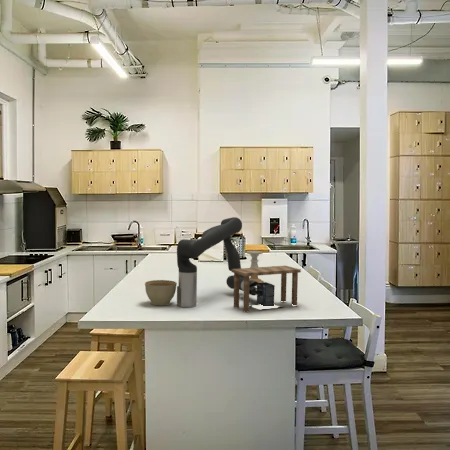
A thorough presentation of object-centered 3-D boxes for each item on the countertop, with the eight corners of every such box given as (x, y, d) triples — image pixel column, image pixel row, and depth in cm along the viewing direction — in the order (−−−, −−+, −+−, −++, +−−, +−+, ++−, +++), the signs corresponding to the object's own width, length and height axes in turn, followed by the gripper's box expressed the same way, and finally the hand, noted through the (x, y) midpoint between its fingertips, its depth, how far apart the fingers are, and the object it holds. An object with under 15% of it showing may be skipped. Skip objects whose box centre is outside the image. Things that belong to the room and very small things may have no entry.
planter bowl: (145, 307, 249) (145, 286, 248) (144, 300, 265) (144, 280, 264) (178, 306, 252) (178, 285, 251) (174, 300, 268) (175, 279, 267)
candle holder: (240, 282, 321) (241, 250, 320) (257, 281, 327) (257, 250, 326) (250, 285, 311) (251, 253, 309) (267, 284, 316) (268, 252, 315)
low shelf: (244, 312, 242) (245, 273, 240) (230, 306, 254) (231, 269, 253) (299, 306, 256) (300, 269, 255) (284, 301, 269) (285, 265, 267)
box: (256, 303, 257) (257, 282, 256) (265, 302, 260) (266, 282, 259) (264, 306, 250) (265, 285, 250) (274, 305, 253) (275, 284, 252)
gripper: (238, 280, 265) (255, 286, 250) (262, 279, 271) (279, 284, 256) (238, 295, 265) (254, 301, 250) (262, 292, 272) (279, 299, 257)
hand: (267, 293), depth 253 cm, fingers closed on box, 5 cm apart
